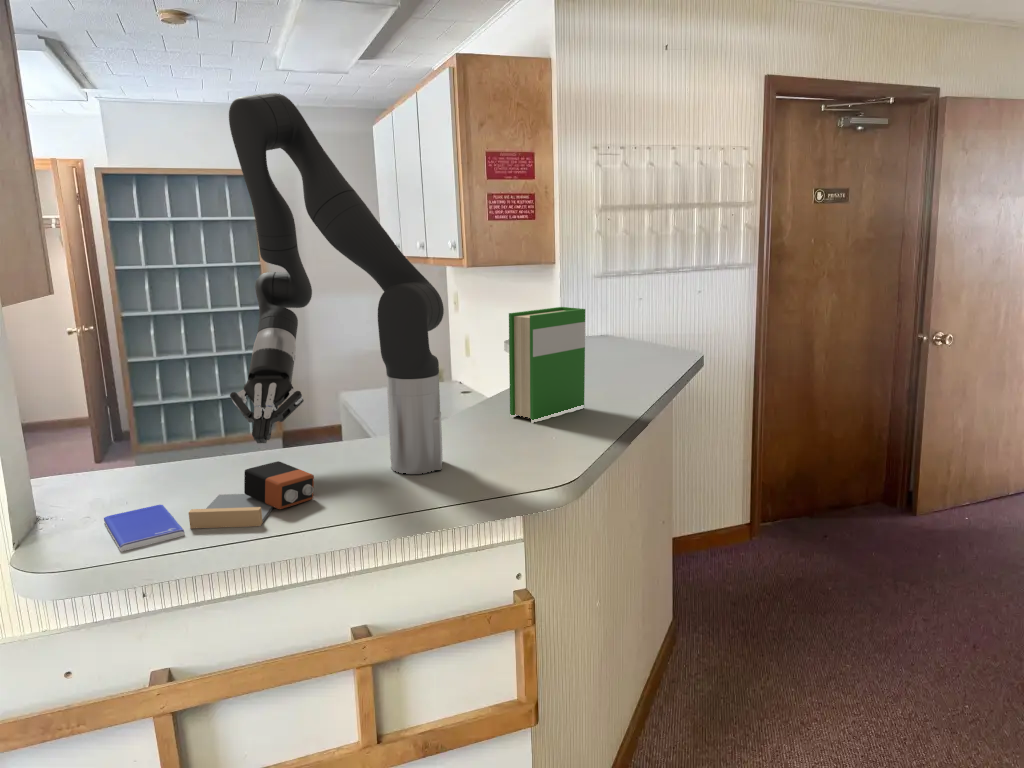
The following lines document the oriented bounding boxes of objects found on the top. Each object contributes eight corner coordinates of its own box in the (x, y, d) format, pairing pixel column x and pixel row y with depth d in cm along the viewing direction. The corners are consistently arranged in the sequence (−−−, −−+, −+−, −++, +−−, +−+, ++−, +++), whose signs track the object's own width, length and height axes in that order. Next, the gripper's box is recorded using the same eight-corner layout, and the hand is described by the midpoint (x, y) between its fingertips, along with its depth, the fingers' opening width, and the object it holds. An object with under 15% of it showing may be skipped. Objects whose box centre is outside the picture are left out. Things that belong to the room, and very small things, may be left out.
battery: (243, 468, 111) (283, 485, 106) (279, 459, 117) (318, 475, 111) (242, 494, 112) (282, 512, 107) (278, 484, 118) (318, 501, 112)
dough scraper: (281, 495, 115) (280, 481, 114) (260, 526, 103) (258, 510, 102) (219, 497, 114) (217, 482, 114) (190, 528, 102) (188, 512, 102)
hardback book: (533, 423, 156) (532, 315, 151) (509, 417, 161) (508, 313, 156) (584, 409, 168) (585, 308, 163) (561, 404, 173) (561, 306, 168)
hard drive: (184, 528, 100) (162, 503, 109) (119, 544, 95) (103, 516, 104) (185, 538, 100) (164, 512, 110) (121, 555, 95) (104, 526, 105)
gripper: (230, 347, 126) (214, 431, 117) (305, 346, 127) (295, 429, 118) (242, 370, 133) (227, 452, 123) (313, 369, 134) (304, 450, 124)
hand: (260, 441), depth 121 cm, fingers closed
